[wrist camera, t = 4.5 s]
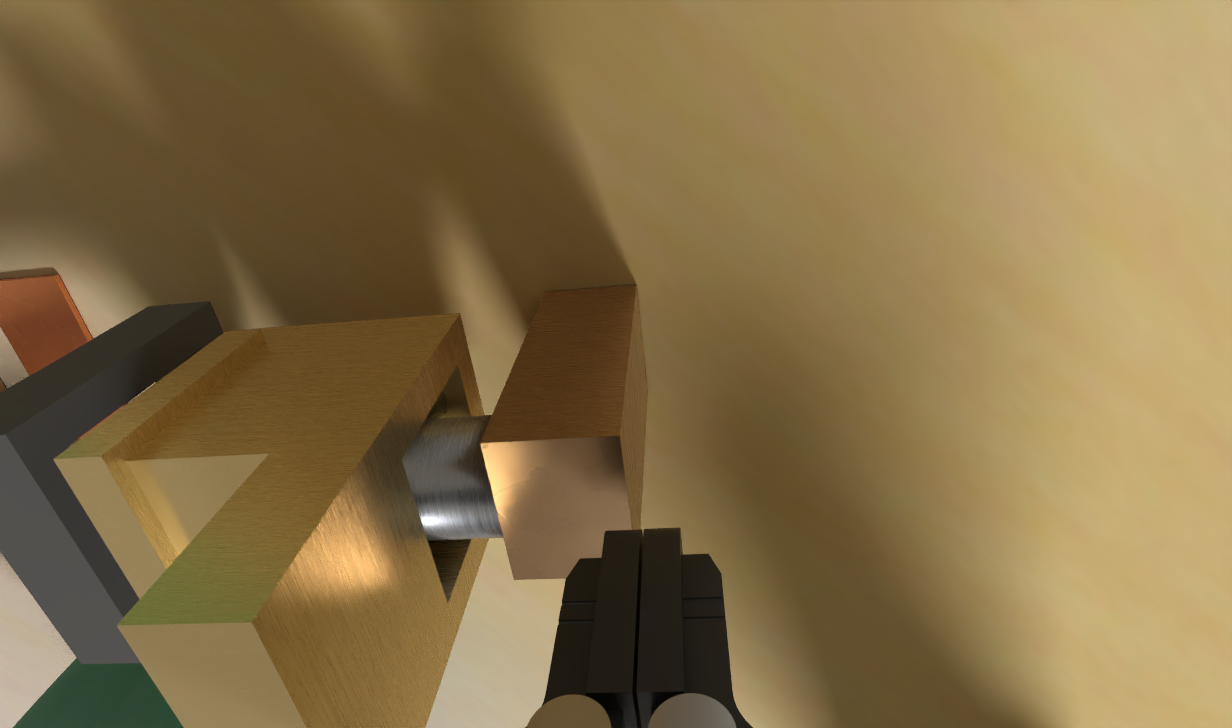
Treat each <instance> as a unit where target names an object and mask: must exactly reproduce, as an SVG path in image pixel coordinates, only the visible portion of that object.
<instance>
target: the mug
mask: <svg viewBox="0 0 1232 728" xmlns="http://www.w3.org/2000/svg"><path fill="white" fill-rule="evenodd" d="M13 728H184V727H183V726H182V724H181V723H180V721H179V720H178V718H177V717H176V715H175V714H174V712H173V711H172V709H171V708H170V706H169V705H168V703H167V702H166V700H165V698H164V697H163V695H162V694H161V692H160V691H159V689H158V688H157V686H156V685H155V683H154V682H153V680H152V679H151V677H150V676H149V674H148V673H147V671H146V670H145V668H144V667H143V665H142V664H141V663H122V664H81V663H80V661H79V660H78V658H76V659H75V660H74V661H73V662H72V663H71V665H70V666H69V667H68V668H67V669H66V670H65V671H64V672H63V673H62V674H61V675H60V676H59V677H58V678H57V679H56V681H55V682H54V683H53V684H52V685H51V686H50V687H49V688H48V689H47V690H46V691H45V693H44V694H43V695H42V696H41V697H40V698H39V699H38V700H37V701H36V702H35V703H34V705H33V706H32V707H31V708H30V709H29V710H28V711H27V712H26V713H25V715H24V716H23V717H22V718H21V719H20V720H19V721H18V722H17V724H16V725H15V726H14V727H13Z"/></svg>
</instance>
